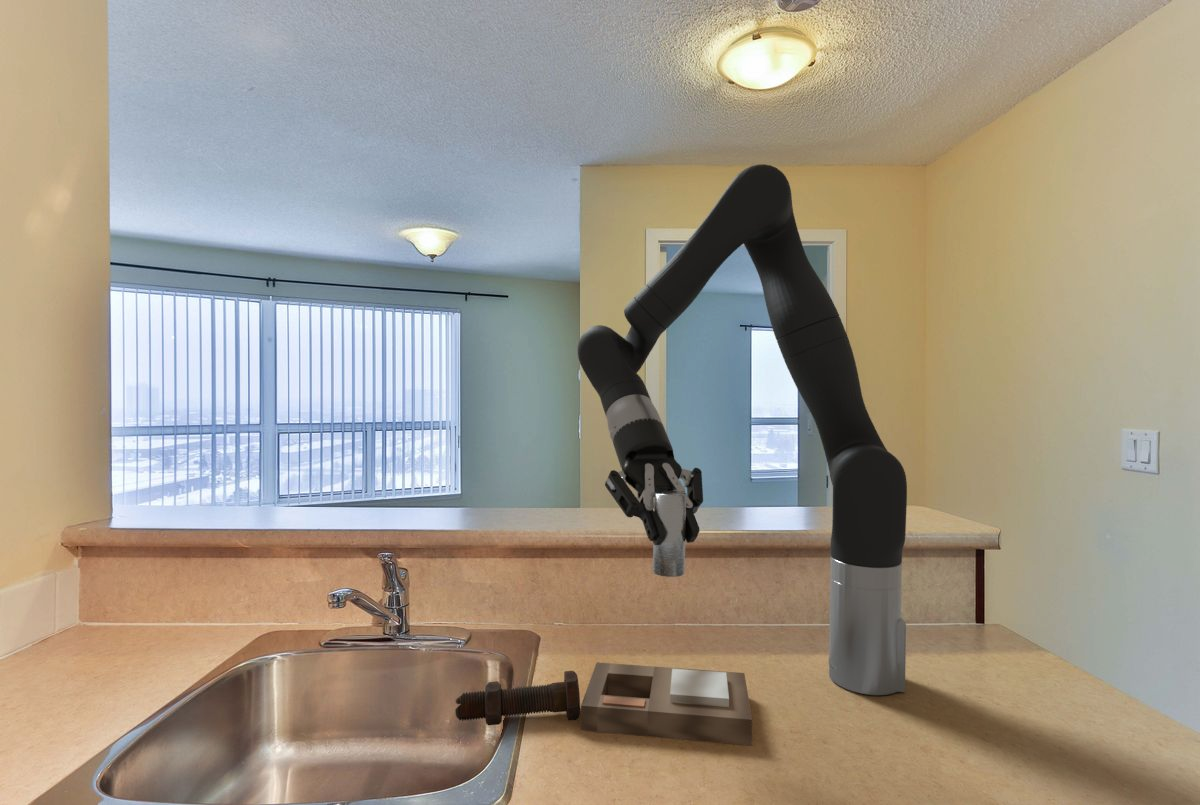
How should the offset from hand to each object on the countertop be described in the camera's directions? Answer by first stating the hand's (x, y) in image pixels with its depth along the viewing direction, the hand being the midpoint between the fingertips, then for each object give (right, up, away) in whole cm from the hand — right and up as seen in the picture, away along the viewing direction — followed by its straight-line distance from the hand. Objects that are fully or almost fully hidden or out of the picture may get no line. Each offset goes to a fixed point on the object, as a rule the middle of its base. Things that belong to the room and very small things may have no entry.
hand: (676, 539), depth 77 cm
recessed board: (-1, -22, +2) cm, 22 cm away
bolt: (-20, -23, +1) cm, 30 cm away
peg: (-1, -4, +2) cm, 5 cm away
